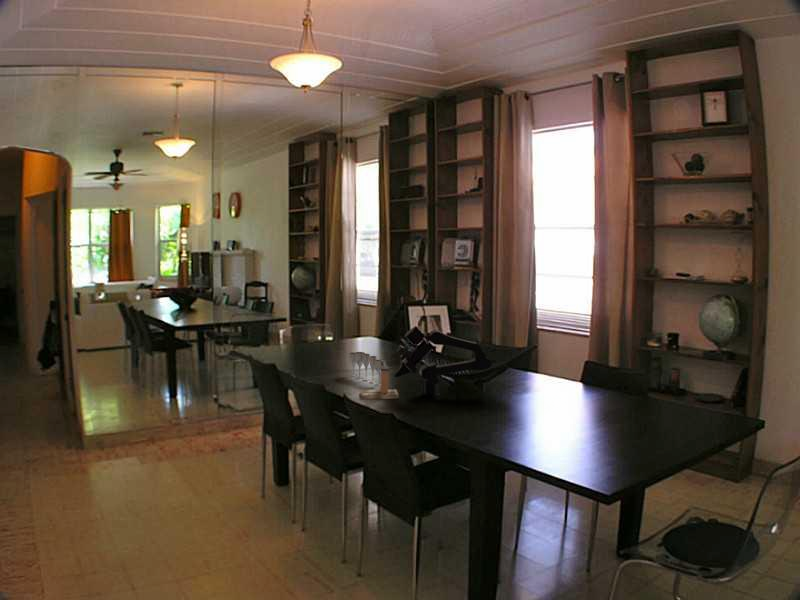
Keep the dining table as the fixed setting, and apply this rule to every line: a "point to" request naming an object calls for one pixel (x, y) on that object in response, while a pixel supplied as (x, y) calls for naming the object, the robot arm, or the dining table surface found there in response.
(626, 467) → the dining table surface
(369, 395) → the fader console
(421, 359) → the robot arm
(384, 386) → the fader tab
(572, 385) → the dining table surface
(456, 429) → the dining table surface
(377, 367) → the goblet set
